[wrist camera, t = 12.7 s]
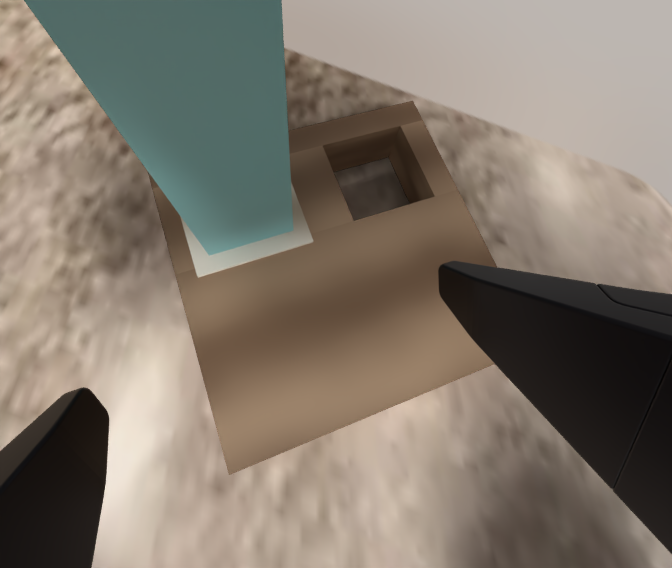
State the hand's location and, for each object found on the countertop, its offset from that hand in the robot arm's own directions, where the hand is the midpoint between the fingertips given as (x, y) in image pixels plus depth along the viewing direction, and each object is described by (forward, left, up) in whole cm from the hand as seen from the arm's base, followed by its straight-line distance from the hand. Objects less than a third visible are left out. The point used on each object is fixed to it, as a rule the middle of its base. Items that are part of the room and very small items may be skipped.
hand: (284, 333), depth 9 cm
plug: (+8, -3, -8) cm, 11 cm away
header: (+2, -5, -11) cm, 12 cm away
